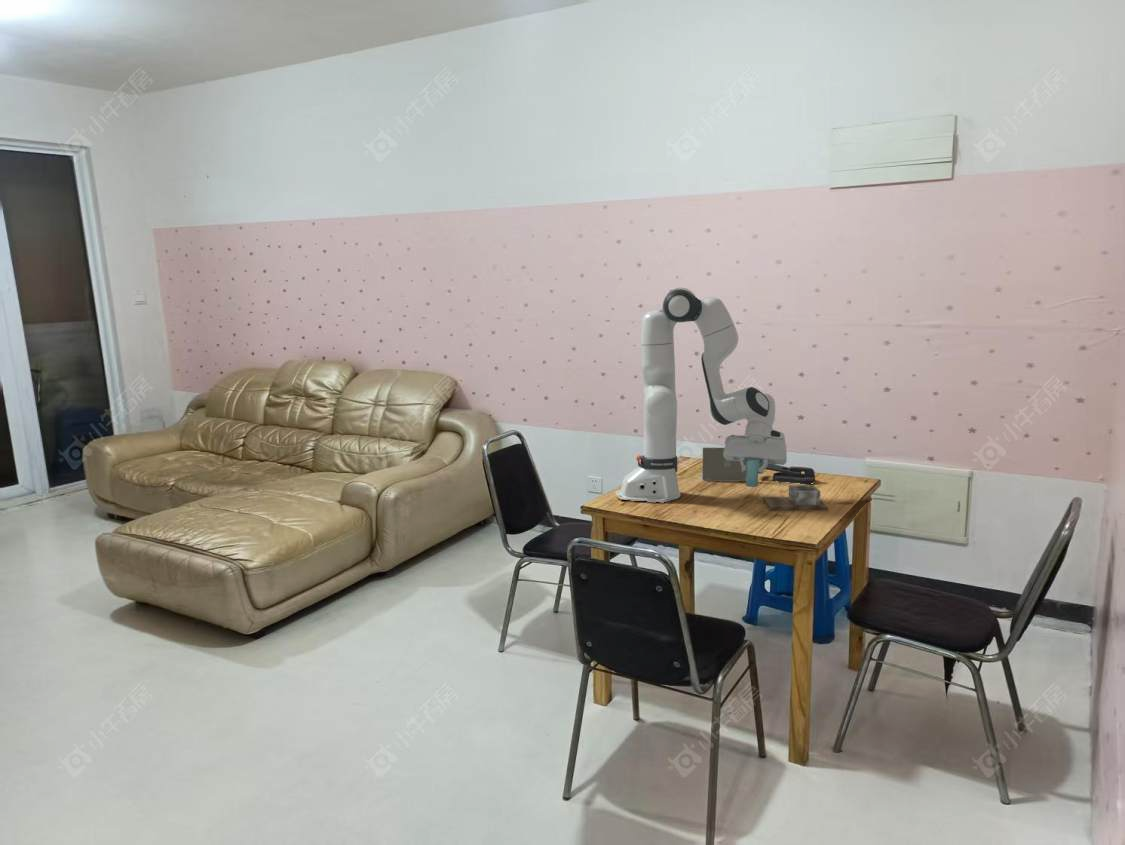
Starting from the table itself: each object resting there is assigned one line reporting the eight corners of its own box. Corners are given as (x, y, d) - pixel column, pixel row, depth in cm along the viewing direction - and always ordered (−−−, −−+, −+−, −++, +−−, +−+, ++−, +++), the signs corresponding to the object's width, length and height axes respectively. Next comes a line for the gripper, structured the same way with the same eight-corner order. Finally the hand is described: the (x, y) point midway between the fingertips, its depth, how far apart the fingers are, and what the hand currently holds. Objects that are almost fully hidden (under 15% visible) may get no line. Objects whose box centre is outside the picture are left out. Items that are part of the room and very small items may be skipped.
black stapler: (748, 458, 292) (816, 462, 282) (747, 474, 293) (815, 480, 283) (743, 463, 284) (814, 468, 274) (743, 480, 285) (813, 485, 275)
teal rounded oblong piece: (747, 486, 246) (748, 461, 245) (744, 483, 250) (745, 458, 249) (758, 487, 246) (760, 461, 245) (756, 484, 250) (757, 458, 249)
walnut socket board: (771, 510, 245) (771, 493, 244) (762, 500, 257) (763, 484, 256) (827, 510, 245) (828, 493, 244) (816, 500, 256) (817, 483, 255)
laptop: (748, 474, 294) (749, 441, 292) (751, 482, 282) (752, 448, 280) (700, 473, 297) (701, 440, 295) (702, 481, 285) (702, 447, 282)
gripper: (725, 429, 255) (718, 463, 248) (788, 433, 248) (783, 469, 241) (727, 439, 260) (720, 474, 253) (789, 444, 253) (784, 480, 246)
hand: (752, 472), depth 247 cm, fingers closed on teal rounded oblong piece, 4 cm apart
